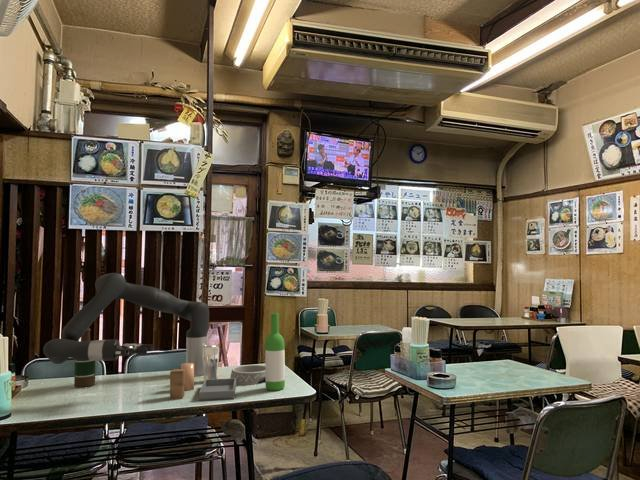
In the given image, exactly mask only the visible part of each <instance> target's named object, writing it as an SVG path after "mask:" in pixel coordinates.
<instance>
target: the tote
mask: <svg viewBox="0 0 640 480" xmlns="http://www.w3.org/2000/svg"><path fill="white" fill-rule="evenodd" d="M203 381H204V380H203ZM236 389H237V385H236V378H218V379H207V380H205V381H204V382H203V384H202V385H201V387H200V390H199V392H198V401H218V400H220V401H221V400H234V399H235V395H236V391H237V390H236Z"/></svg>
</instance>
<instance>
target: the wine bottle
mask: <svg viewBox="0 0 640 480" xmlns="http://www.w3.org/2000/svg"><path fill="white" fill-rule="evenodd" d="M264 343H265V344H264V346H265V349H264V351H265V352H264V353H265V355H264V356H265V361H264V363H265V365H264V366H265V380H264V381H265V389H266V390H268V391H275V392H277V391H281V390H284V388H285V386H286V382H285V381H286V376H285V375H286V372H285V371H286V368H285V367H286V366H285V364H286V363H285V361H286V360H285V359H286V357H285V339H284V337H283V336H282V335H281V334H280V332H279V313H278V312H271V313H270V334H268V336H267V337H266V339H265V341H264Z"/></svg>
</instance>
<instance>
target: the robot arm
mask: <svg viewBox="0 0 640 480" xmlns="http://www.w3.org/2000/svg"><path fill="white" fill-rule="evenodd" d="M94 286H95V289H96V291H97V292H96V294H95V295H94V296H93V297H92V298H91V300H89V301H88V303H86V304H85V305H84V306H82V307H81V309H79V310H78V311H77V312H76V313H75V314H74V315H73V316H72V317H71V319H70V320H69V321H68V322H67V323H66V324H65V326H64V327H63V328H62V330H61V333H62V336H61V338H53V339H51V340H48V341H47V342H46V343H45V344H44V345H43V348H42V351H43V355H44V356H45V357H46V358H47V359H48V360H49V361H50V362H51V363H53V364H55V365H60V364H63V363H65V362H67V360H68V359H69V358H70V359H73V360H74V361H75V360H79V361H84V360H94V361H95V362H103V361H104V362H105V361H107V362H108V361H117V360H118V358H119V357H132V356H136V355H147V353H148V351H152V350H153V344H150V343H149V344H142V343H124V344H122V345H121V344H120V341H119V340H118V339H97V340H96V339H95V340H90V341H81V337H82V335H83V334H84V333H85V332H86V330H87V329H88V328H90V326H91V325H92V324H93V323H94V321H95V320H96V319H97V318H98V317H99V316H100V314H101V313H102V312H103V311H104V310H105V309H106V308H107V307H108V306H109V305H110V304H111V303H112V302H113V301H114V300H115V299H118V300H119V299H120V300H124V301H128V302H130V303H132V304H134V305H138V306H140V307H143V308H146V309H150V310H154V311H157V312H160V313H161V312H162V313H167V314H172V315H175V316H178V317H180V318H182V319H184V320H187V321H188V322H189V321H190V328H189V329H187V331H186V334H185V335H186V339H185V340H186V343H185V344H186V347H185V348H186V349H185V351H186V353H185V354H186V356H185V357H186V360H185V363H194V377H198V376H203V375H204V366H203V357H202V356H203V346H207V345H208V332H209V326H210V324H209V323H210V309H209V306H208V304H207V303H206V302H202V301H190V300H185V299H180V298H177V297H176V296H174V295H173V294H171V293H170V292H168V291H165V290H164V289H160V288H157V287H154V286H147V285H143V284H136V283H129V282H127V280H126V278H125V277H124V276H123V274H121V273H118V272H111V273H105V274H103V275H101V276H98V278H97V279H96V280H95V282H94Z"/></svg>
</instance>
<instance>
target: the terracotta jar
mask: <svg viewBox="0 0 640 480" xmlns="http://www.w3.org/2000/svg"><path fill="white" fill-rule="evenodd" d="M180 369H185V375H184V392H189V391H193V390H194V389H195V376H194V363H186V362H185V363H181V367H180Z"/></svg>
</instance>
